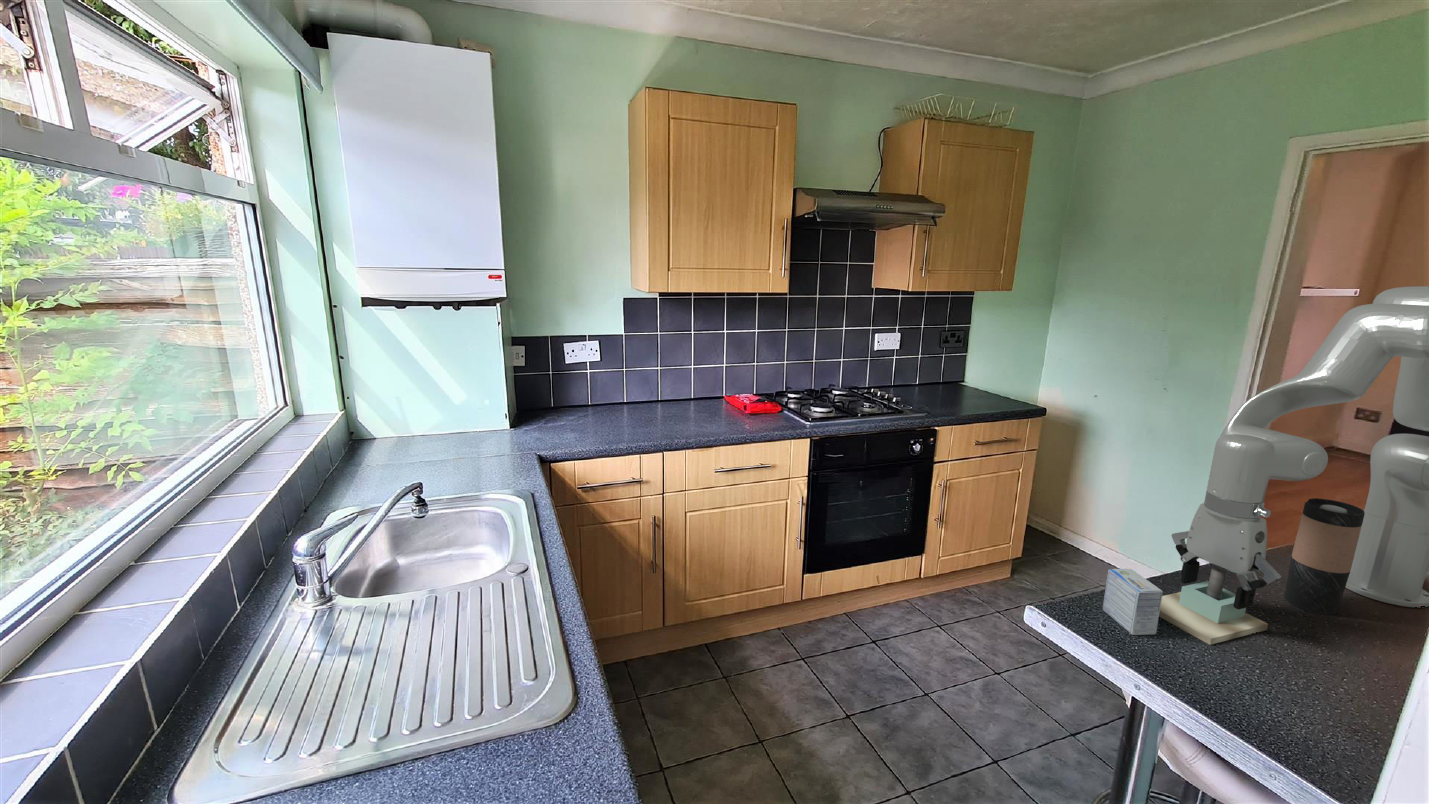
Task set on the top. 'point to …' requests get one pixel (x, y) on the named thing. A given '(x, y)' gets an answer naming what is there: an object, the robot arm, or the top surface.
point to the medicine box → (1132, 601)
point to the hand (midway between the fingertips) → (1214, 593)
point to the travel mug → (1323, 555)
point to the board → (1203, 625)
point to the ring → (1210, 603)
